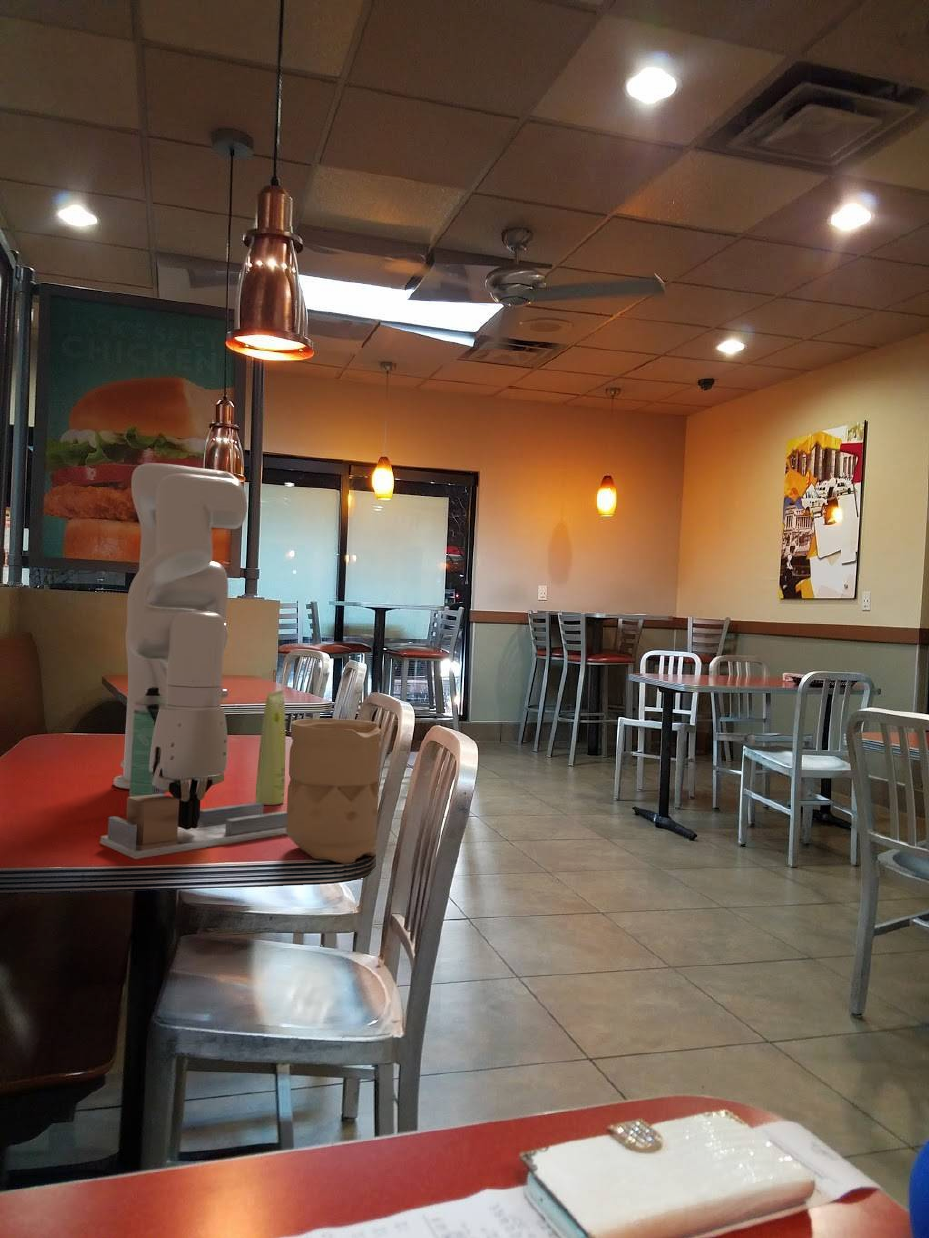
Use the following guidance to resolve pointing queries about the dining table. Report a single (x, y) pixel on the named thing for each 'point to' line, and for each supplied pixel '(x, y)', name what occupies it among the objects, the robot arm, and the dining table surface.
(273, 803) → the tube
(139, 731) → the spray can
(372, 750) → the container
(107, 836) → the chute
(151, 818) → the block
